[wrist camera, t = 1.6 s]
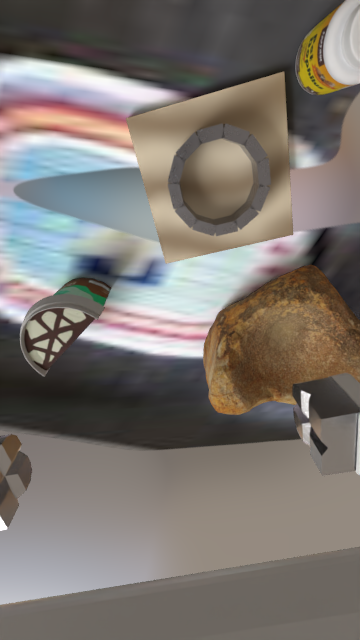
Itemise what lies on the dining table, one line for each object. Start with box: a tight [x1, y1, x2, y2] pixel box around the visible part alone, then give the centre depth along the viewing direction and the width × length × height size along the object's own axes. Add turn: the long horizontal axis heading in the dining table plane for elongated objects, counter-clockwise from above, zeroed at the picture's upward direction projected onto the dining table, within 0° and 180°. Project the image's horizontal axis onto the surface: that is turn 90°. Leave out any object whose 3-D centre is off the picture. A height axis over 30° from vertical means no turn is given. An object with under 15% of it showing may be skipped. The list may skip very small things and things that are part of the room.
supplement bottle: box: [296, 0, 360, 95], centre depth 25 cm, size 6×6×10 cm
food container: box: [20, 278, 111, 376], centre depth 39 cm, size 12×6×10 cm, turn 137°
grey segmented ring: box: [168, 123, 271, 236], centre depth 33 cm, size 10×10×3 cm
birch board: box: [126, 72, 293, 263], centre depth 35 cm, size 16×16×1 cm
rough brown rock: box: [203, 265, 360, 415], centre depth 38 cm, size 23×17×15 cm
